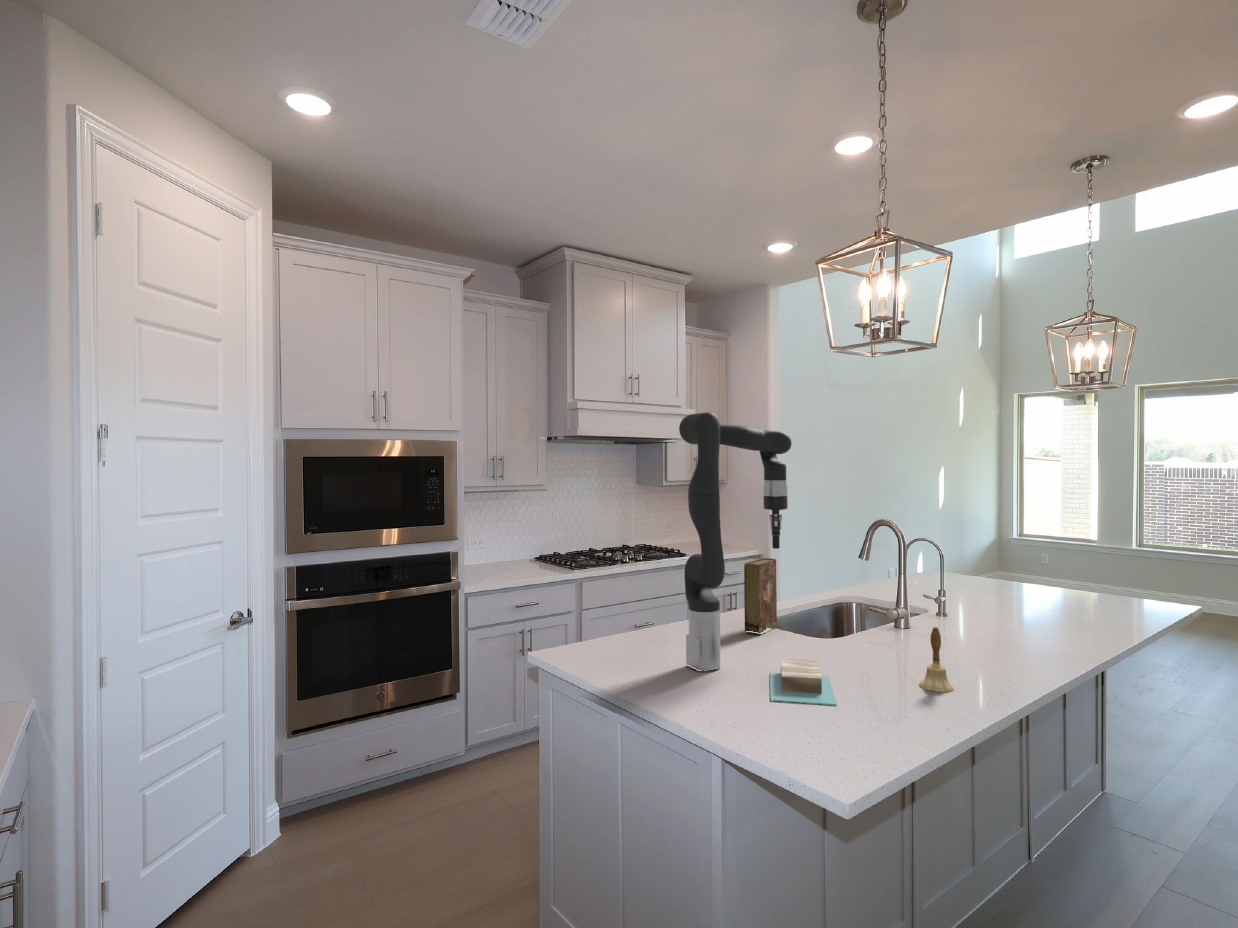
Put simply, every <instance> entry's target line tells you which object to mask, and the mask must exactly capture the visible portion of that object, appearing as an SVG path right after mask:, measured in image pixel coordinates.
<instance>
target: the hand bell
mask: <svg viewBox="0 0 1238 928" xmlns="http://www.w3.org/2000/svg"><path fill="white" fill-rule="evenodd" d="M941 645H942V637H941V632H940V630H939V628H938V627H936V626H935V627H932V631H931V633H930V646H931V649H932V664H928V665H927V667H926V672H925V676H924V678H923V680H921V681H920V682H919V687H920V688H922V689H924V690H926V691H930V692H934V693H935V692H936V693H951V692H953V691H954V689H955V688H954V686H953V685H952V684H951V683H950V681H949V679H948V676H947V669H946V667H945V666H943V665H941V659H940V650H941ZM950 691H951V692H950Z"/></svg>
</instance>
